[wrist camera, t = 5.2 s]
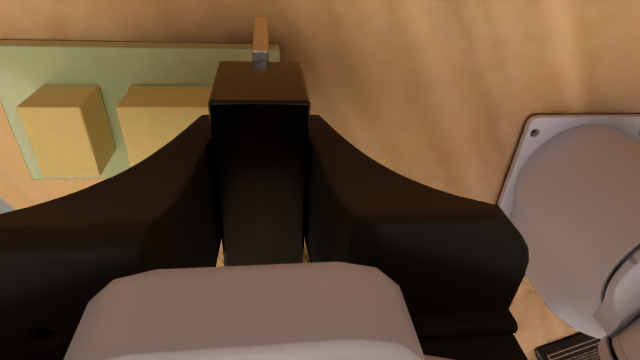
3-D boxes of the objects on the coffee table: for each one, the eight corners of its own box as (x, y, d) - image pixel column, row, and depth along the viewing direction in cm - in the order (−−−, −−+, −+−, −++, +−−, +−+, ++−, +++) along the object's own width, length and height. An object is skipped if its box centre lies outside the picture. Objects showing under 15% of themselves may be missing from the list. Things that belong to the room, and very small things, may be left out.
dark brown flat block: (290, 166, 16) (302, 285, 11) (237, 166, 16) (226, 288, 11) (293, 17, 13) (311, 89, 8) (228, 15, 13) (205, 89, 8)
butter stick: (262, 148, 22) (261, 174, 20) (145, 149, 21) (132, 176, 19) (260, 85, 20) (259, 106, 18) (130, 85, 19) (114, 106, 17)
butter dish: (280, 165, 24) (280, 175, 23) (40, 170, 22) (31, 180, 22) (279, 43, 20) (280, 49, 19) (-11, 38, 18) (-24, 45, 18)
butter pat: (116, 150, 21) (100, 177, 19) (64, 150, 21) (42, 178, 19) (99, 84, 19) (79, 107, 17) (41, 84, 19) (14, 106, 17)
